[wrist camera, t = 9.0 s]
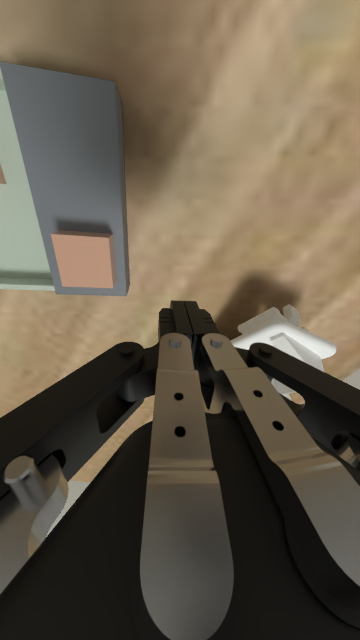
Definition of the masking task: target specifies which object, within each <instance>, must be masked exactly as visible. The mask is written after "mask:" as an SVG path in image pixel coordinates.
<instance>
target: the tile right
mask: <svg viewBox="0 0 360 640" xmlns="http://www.w3.org/2000/svg"><path fill="white" fill-rule="evenodd" d="M51 237H52V242H53V246H54V251H55V255H56V260H57V264H58V269H59V273H60V278H61V282H62V286H63V287H91V288H113V287H114V285H115V283H116V281H117V276H116V264H115V251H114V238H113V234H107V233H93V232H79V231H65V230H61V231H58V232H55V233H52V234H51Z"/></svg>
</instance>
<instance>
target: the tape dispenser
mask: <svg viewBox="0 0 360 640" xmlns="http://www.w3.org/2000/svg"><path fill="white" fill-rule="evenodd" d="M283 314H284V316H283V315H282V314H280V311H279V310H278V309H277V308H275V307H272V308H270V309H268V310H266V311H265V312H263V313H261V314H259V315H257V316H255V317H253V318H252V319H250V320H248V321H246V322H244V323H242V324H240V325H239V326H238V331H239V332H240V333H242V335H241V336H239V337H237V338H235V339H233V340H231V343H232V344H233V346H234V347H237V348H242V349H246V350H249V348H250V345H251V344H253V343H258V342H260V343H266V344H269V345H271V346H273V347H275V348H277V349H279V350H281V351H283V352H285V353H287V354H289V355H291V356H293V357H295V358H297V359H299V360H301V361H303V362H305V363H307V364H309V365H311V366H313V367H315V368H317V369H319V370H321V371H323V372H324V369H323V365H322V362H321V359H324V358H328V357H330V356H332V355H334V354H335V352H336V346H335V344H334V343H332V342H330V341H328V340H326V339H323V338H321V337H319V336H317V335H315V334H312V333H310V332H308V330H307V329H305V328H304V327H302V328H300V327H299V324H300V323H301V320H300V316H299V312H298V310H296V309H295V308H294V307H292V306H291V305H289V304H288V305H287V306H285V307H283ZM271 383H272V384H273V386H274V387H275V388H276V390H277V391H278V393H280V394H282V395H283V396H285V397H286V398H288V399H290V400H291V397H290V396H289V394H288V393H294V392H296V391H294V390H292V389H291V388H289V387H287V386H285V385H284V384H282V383H280V382H279V381H277V380H275V379H274V378H273V379H272V381H271ZM291 401H292V400H291Z"/></svg>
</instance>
